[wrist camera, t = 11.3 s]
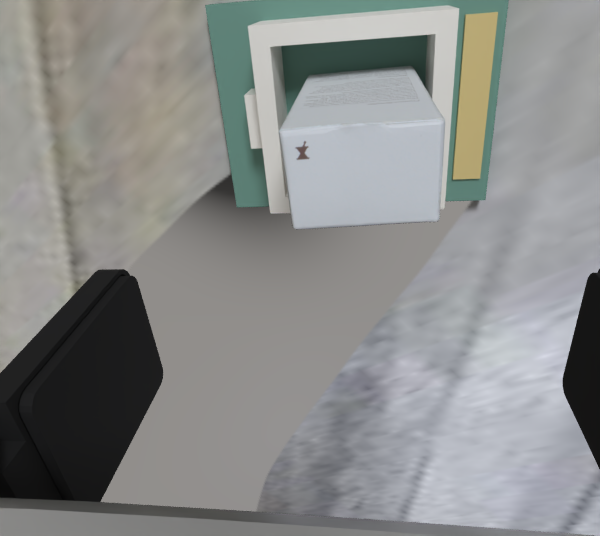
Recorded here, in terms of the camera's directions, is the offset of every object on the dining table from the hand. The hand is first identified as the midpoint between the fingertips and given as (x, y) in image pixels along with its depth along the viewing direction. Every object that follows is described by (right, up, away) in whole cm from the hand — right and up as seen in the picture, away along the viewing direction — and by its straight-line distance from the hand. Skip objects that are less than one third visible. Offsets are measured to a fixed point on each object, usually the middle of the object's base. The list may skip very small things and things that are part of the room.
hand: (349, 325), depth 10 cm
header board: (+2, +11, +19) cm, 22 cm away
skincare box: (+3, +11, +18) cm, 21 cm away
